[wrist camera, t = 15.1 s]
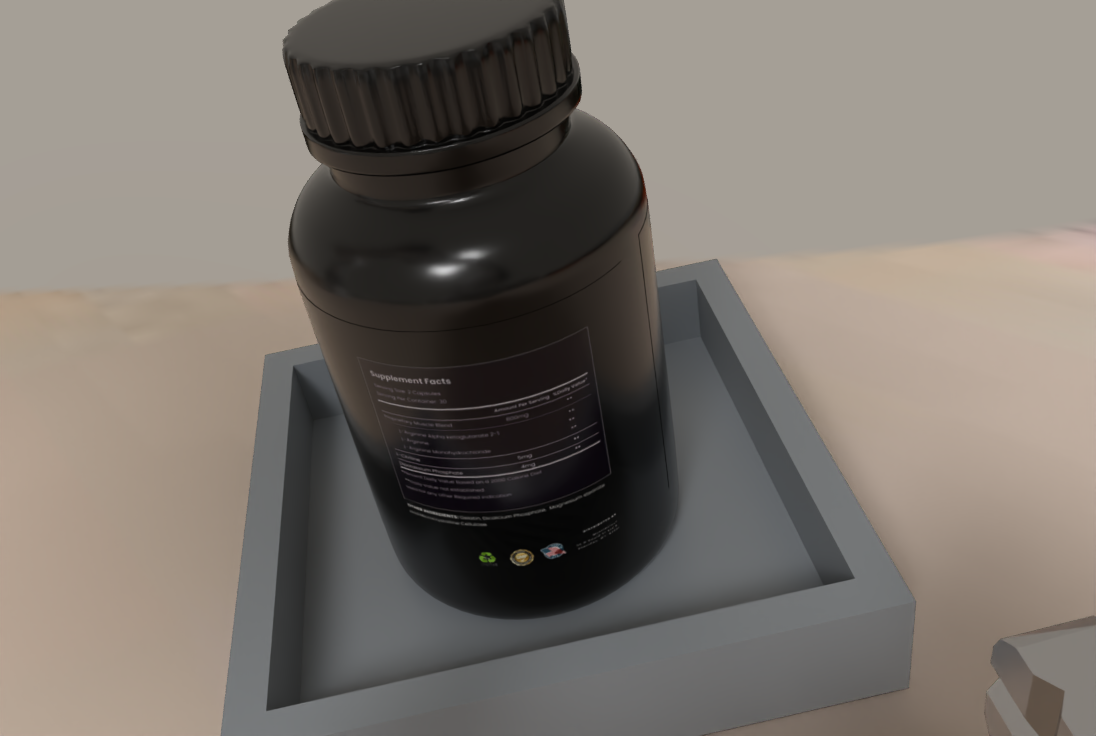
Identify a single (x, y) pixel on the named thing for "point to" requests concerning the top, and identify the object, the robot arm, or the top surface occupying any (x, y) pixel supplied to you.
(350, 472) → the tray
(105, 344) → the top surface
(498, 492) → the supplement bottle
